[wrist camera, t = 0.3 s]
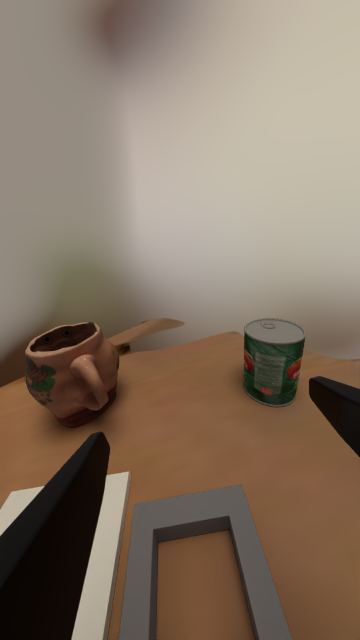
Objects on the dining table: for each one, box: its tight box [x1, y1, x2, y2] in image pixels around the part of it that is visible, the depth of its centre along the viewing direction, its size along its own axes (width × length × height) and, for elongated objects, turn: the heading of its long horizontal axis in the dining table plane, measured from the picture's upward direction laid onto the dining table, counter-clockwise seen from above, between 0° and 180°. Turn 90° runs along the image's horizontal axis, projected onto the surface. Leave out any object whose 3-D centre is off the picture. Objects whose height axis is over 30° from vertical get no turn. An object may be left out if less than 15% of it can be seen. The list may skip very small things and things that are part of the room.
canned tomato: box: [243, 318, 306, 407], centre depth 28 cm, size 8×8×11 cm
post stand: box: [0, 472, 131, 640], centre depth 13 cm, size 13×13×6 cm
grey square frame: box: [119, 485, 292, 640], centre depth 12 cm, size 10×10×2 cm
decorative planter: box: [25, 322, 119, 427], centre depth 28 cm, size 20×12×14 cm, turn 51°
